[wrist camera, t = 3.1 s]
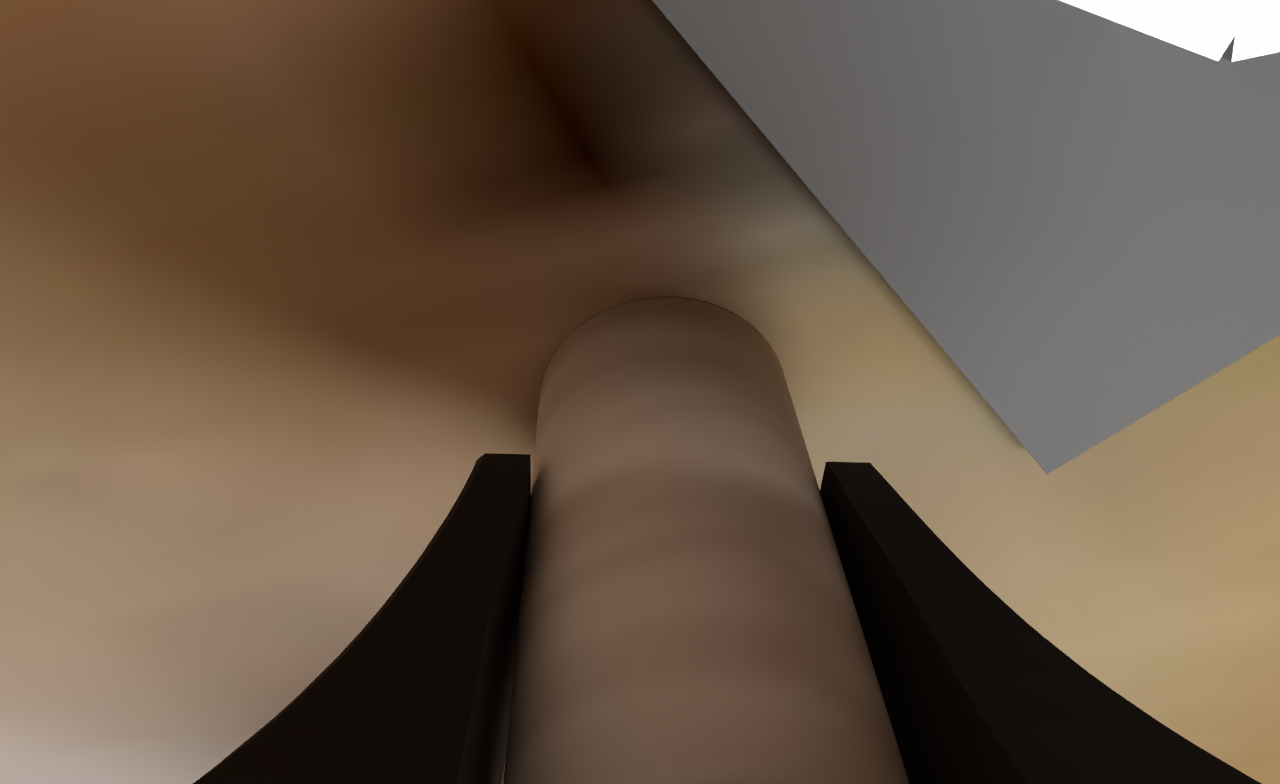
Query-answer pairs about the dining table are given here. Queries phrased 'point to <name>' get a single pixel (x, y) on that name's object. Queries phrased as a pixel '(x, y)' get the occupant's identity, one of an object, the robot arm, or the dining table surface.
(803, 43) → the rosette plate
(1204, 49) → the ring collar
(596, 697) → the beige rounded cylinder
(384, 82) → the dining table surface
